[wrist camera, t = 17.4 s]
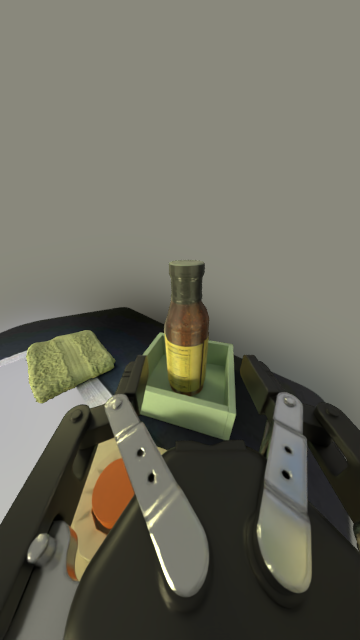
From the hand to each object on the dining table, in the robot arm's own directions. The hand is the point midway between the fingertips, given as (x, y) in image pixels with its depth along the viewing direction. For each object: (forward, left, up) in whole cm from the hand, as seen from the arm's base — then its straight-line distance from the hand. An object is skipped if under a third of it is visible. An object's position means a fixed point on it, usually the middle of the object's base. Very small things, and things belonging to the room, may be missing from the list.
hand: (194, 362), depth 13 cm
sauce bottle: (+3, -8, -13) cm, 16 cm away
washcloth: (+27, -8, -13) cm, 31 cm away
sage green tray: (+3, -9, -13) cm, 16 cm away
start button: (+5, +6, -10) cm, 13 cm away
